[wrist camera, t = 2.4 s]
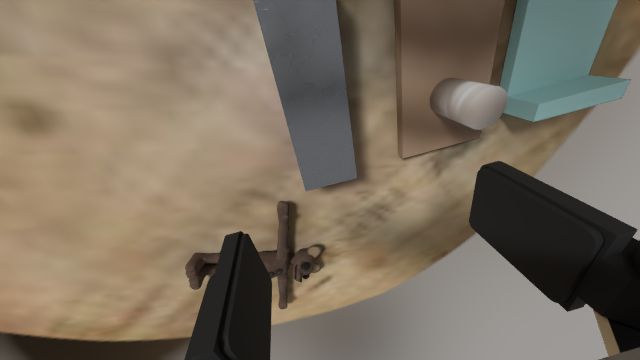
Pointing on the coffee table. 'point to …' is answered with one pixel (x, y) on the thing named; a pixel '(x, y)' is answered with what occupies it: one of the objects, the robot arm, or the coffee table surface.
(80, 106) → the coffee table surface
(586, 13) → the slot holder
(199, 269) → the bear figurine
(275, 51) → the steel bar
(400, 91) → the peg stand
